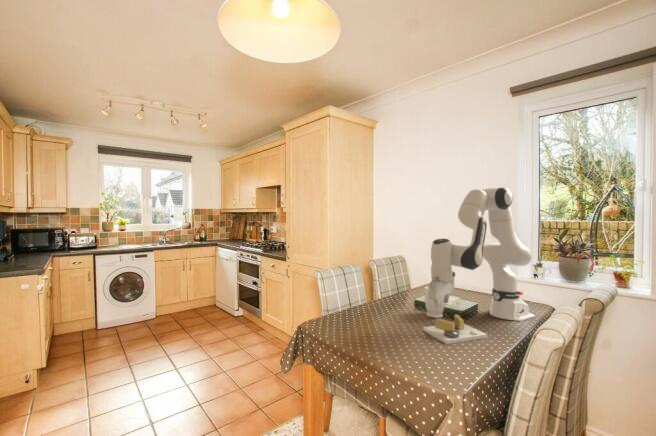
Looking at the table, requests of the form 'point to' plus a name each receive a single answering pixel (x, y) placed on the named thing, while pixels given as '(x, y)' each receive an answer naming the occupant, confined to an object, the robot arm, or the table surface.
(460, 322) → the knob
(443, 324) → the knob
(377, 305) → the table surface
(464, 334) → the level plate
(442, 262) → the robot arm
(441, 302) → the jar
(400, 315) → the table surface
